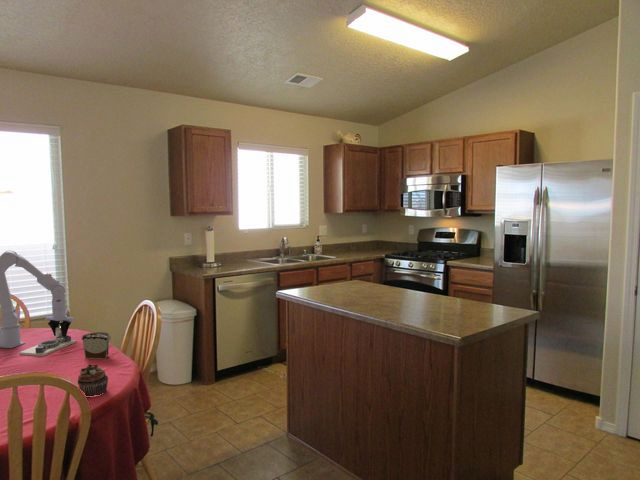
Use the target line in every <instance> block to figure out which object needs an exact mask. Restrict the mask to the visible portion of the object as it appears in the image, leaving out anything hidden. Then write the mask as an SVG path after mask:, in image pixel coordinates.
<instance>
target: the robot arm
mask: <svg viewBox="0 0 640 480" xmlns="http://www.w3.org/2000/svg"><path fill="white" fill-rule="evenodd" d="M12 266H14V267H16V268H17V267H19V268H22V269H24V270H25V271H26V272H28V273H29V274H31V275H32V276H34V277H35V278H36V282H37V283H38V284H40V286H42V287H43V288H45V290H47V291H50V293H51V297H52V299H51V309H52V315H47V316H45V317H44V319H45V320H44V321H45V322H47V325H48V326H49V327H50V329H51V331H52V334H53V337H56V332H55V327H57V326H61V330H62V336H67V335H68V330H69V327H70V326H71V324H72V323H73V322H75V317H74V316H73V317H71V316H68V315H67V304H66V294H65V293H66V287H65V286H64V285H63V283H62V282H60V280H57V279H56V278H54V277H53V275H52V274H51V273H48V272H42V271H40V270H39V269H38V268H37V267H36V266H35V265H33V264H32V263H31V262H30V261H29V260H27V259H26V258H25V257H24V256H22V255H20V254H18V253H17V252H16V251H15V250H6V251H3V253H2V254H0V315H1V318H0V319H1V320H0V348H3V349H13V348H16V347H19V346H21V345H24V344H26V342H25V341H22V340H21V326H20V325H21V324H20V323H19V322H18V320H19V317H20V315H19V313H18V312H17V311H16V310H15V306H14V304H13V301H12V296H11V292H10V287H9V284H8V280H7V276H6V271H8V269H9V268H10V267H12Z"/></svg>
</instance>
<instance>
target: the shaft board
mask: <svg viewBox="0 0 640 480" xmlns="http://www.w3.org/2000/svg"><path fill="white" fill-rule="evenodd" d="M75 343H77V340H76V339H71V341H69V342H62V343H59V341H58V340H57V339H56V338H52V339H47V340H44V341H41V342H38V344H36V345H35V346H31V347H30V348H27V349H24V350H21V351H19V352H18V354H19V355H21V356H23V355H24V356H35V357H45V356H47V355H49V354H53V353H54V352H57V351H58V350H61V349H63V348H65V347H68V346H71V345H72V344H75ZM43 344H46V345H47V349H45V351H44V352H43V353H36V349H35V348H36V347H40V346H41V345H43ZM70 344H71V345H70Z"/></svg>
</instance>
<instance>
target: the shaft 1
mask: <svg viewBox="0 0 640 480" xmlns="http://www.w3.org/2000/svg"><path fill="white" fill-rule="evenodd" d="M35 349H36V353H43V352H44V351H45V349H47V345H46V344H43V345H41V346H40V347H36V348H35Z"/></svg>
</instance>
